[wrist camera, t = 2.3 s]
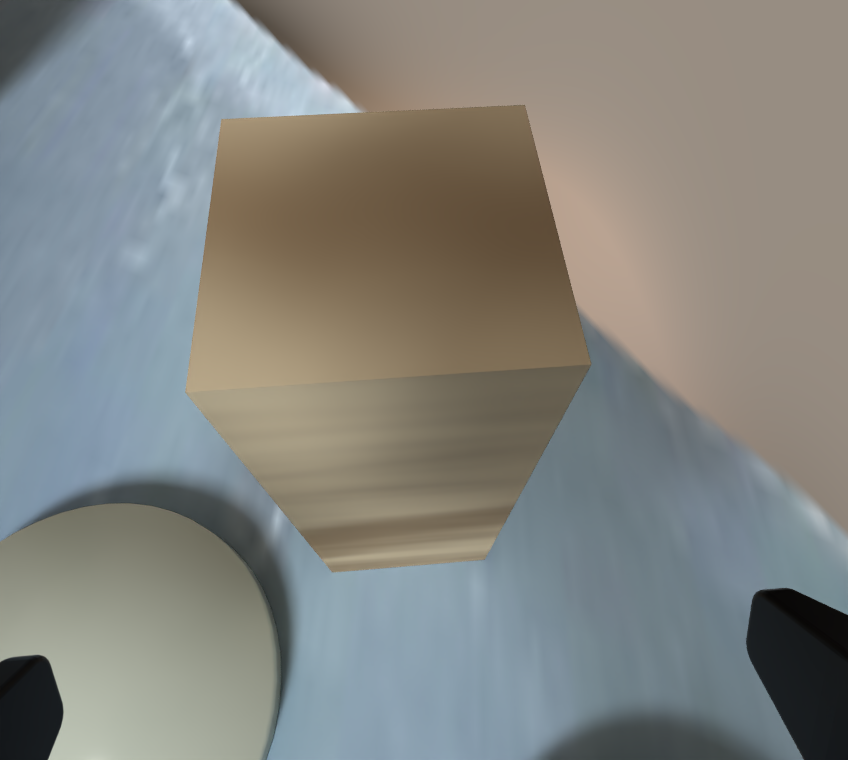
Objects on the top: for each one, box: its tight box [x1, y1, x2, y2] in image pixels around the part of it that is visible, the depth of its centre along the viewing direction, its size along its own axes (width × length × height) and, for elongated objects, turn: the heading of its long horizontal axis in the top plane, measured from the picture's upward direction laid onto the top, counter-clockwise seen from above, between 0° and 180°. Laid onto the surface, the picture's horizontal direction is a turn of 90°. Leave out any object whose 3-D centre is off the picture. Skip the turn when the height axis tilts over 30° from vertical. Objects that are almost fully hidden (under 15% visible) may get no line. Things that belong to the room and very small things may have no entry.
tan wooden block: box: [185, 105, 591, 572], centre depth 14 cm, size 5×5×13 cm
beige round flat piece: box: [0, 503, 282, 760], centre depth 16 cm, size 11×11×1 cm
